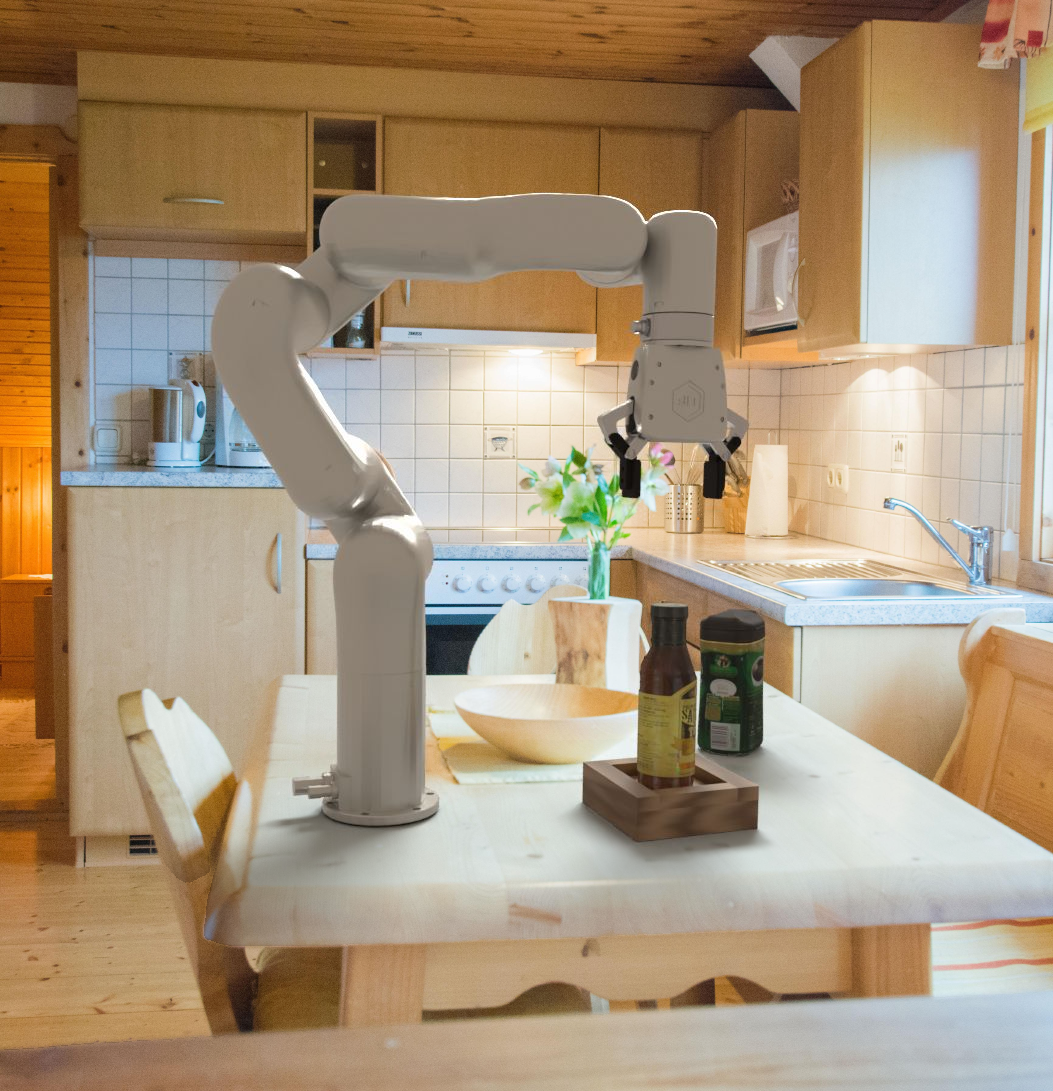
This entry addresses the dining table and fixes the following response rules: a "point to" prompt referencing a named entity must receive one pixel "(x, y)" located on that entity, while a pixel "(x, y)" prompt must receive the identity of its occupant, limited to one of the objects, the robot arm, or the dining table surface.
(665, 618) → the sauce bottle
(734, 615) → the coffee jar
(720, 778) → the walnut block
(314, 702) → the dining table surface
